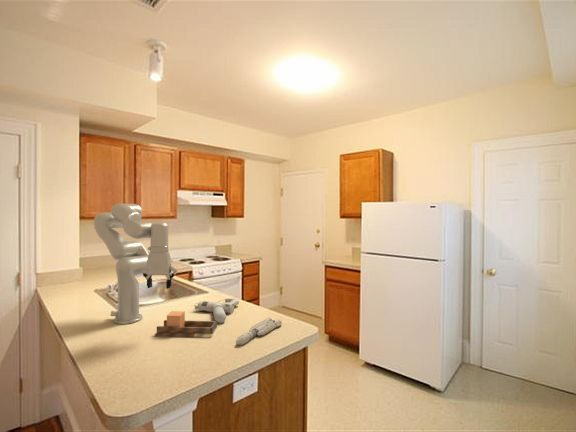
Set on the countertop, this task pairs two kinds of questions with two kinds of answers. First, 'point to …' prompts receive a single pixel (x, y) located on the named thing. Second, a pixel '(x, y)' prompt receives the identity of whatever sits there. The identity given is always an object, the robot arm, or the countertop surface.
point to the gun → (218, 308)
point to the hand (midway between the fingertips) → (159, 287)
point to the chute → (188, 329)
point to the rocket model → (258, 330)
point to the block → (176, 319)
